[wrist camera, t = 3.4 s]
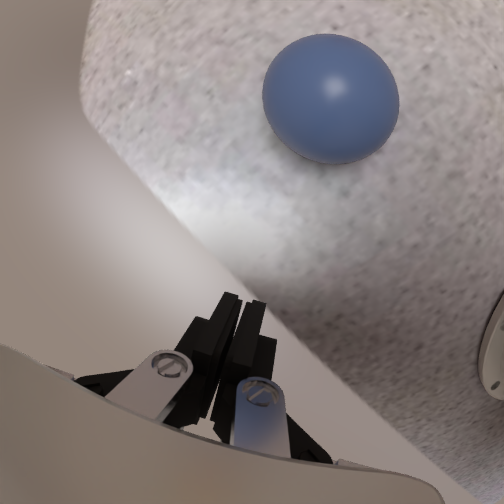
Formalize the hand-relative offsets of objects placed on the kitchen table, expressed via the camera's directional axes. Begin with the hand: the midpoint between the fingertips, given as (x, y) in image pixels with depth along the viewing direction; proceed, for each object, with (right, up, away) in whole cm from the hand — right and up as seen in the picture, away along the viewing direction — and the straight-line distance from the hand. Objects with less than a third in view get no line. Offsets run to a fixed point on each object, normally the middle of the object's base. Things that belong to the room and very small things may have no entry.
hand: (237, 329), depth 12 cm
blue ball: (+4, +9, -1) cm, 10 cm away
